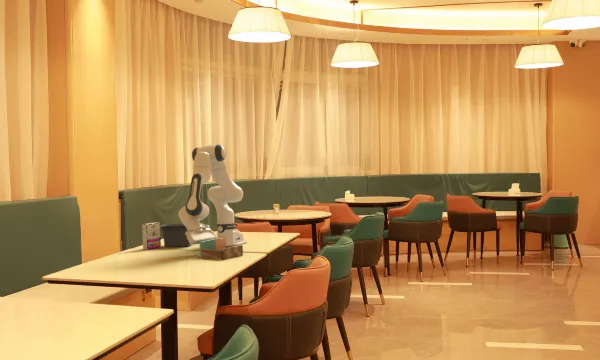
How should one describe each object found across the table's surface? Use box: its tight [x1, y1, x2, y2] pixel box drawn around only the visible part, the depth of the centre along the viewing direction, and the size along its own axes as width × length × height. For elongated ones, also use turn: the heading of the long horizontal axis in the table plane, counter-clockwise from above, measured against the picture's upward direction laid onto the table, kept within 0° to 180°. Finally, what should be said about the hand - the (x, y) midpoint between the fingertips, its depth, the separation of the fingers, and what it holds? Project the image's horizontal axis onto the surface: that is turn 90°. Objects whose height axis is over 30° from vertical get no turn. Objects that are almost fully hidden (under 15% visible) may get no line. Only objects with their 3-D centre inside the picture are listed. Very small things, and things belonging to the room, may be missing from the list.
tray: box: [199, 239, 216, 258], centre depth 378 cm, size 17×16×9 cm
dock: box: [200, 244, 244, 261], centre depth 377 cm, size 18×16×6 cm
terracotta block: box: [216, 238, 226, 250], centre depth 377 cm, size 4×4×9 cm
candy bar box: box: [141, 222, 162, 251], centre depth 417 cm, size 11×5×16 cm, turn 143°
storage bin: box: [160, 223, 192, 248], centre depth 428 cm, size 21×16×14 cm
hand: (208, 247), depth 383 cm, fingers closed, pressing on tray
